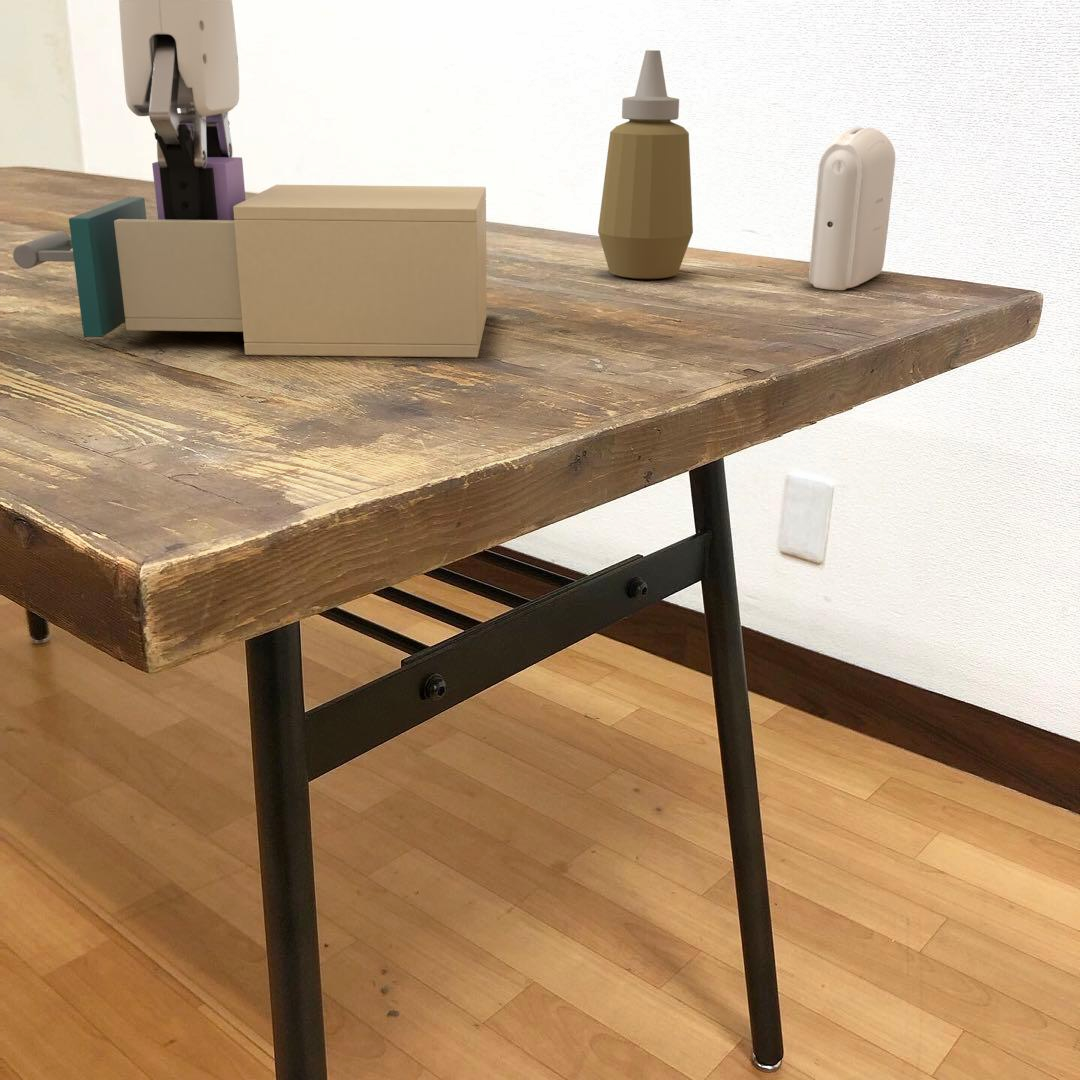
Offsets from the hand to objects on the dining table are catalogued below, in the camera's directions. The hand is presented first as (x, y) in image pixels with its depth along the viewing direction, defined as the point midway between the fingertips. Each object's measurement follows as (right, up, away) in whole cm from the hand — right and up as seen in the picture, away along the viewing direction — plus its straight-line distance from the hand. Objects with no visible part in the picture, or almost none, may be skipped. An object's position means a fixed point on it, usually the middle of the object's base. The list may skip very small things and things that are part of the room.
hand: (203, 224), depth 80 cm
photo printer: (+48, +1, +24) cm, 54 cm away
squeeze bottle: (+31, +2, +26) cm, 40 cm away
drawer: (-2, -6, +2) cm, 7 cm away
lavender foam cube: (0, 0, 0) cm, 0 cm away
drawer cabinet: (+11, -7, +3) cm, 13 cm away
